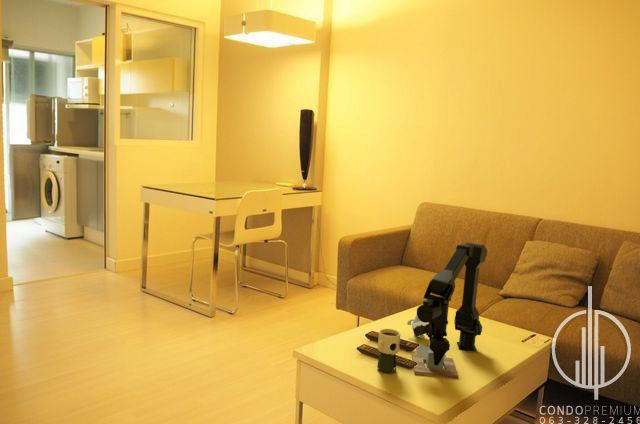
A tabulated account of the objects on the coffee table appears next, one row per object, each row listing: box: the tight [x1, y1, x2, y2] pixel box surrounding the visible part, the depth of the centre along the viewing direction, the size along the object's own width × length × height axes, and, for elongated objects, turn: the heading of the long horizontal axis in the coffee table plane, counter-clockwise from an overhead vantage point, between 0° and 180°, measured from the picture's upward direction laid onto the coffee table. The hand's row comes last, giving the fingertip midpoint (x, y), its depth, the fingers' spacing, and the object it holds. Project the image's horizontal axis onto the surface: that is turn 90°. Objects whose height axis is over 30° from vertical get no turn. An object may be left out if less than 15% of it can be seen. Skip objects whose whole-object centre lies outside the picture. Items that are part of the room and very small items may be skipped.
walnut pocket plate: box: [411, 353, 459, 379], centre depth 183 cm, size 14×14×1 cm
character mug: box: [376, 328, 401, 373], centre depth 178 cm, size 11×7×13 cm, turn 139°
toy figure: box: [406, 306, 425, 339], centre depth 209 cm, size 11×6×12 cm, turn 63°
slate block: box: [425, 347, 444, 370], centre depth 183 cm, size 5×5×6 cm
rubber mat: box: [415, 344, 447, 357], centre depth 196 cm, size 10×10×1 cm
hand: (434, 359), depth 183 cm, fingers open, 8 cm apart
